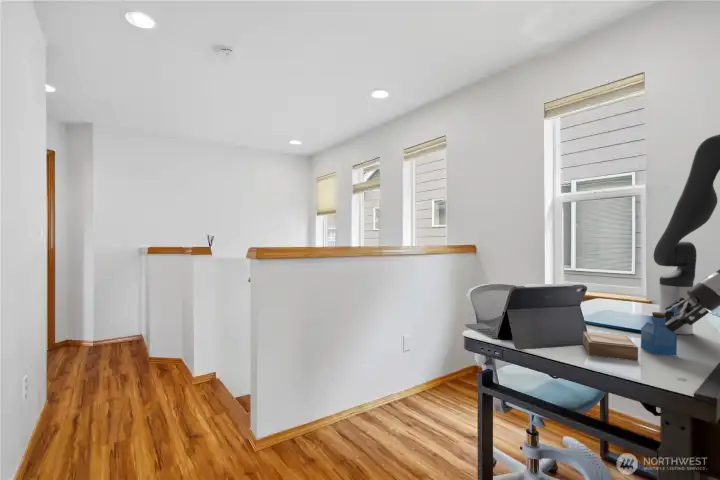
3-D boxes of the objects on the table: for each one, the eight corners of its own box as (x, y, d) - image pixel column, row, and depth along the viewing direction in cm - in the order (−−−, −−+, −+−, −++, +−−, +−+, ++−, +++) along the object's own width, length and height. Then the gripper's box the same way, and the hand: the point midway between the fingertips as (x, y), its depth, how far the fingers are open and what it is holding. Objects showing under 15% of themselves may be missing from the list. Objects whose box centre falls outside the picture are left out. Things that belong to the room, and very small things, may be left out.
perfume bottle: (676, 355, 105) (677, 316, 104) (652, 354, 106) (653, 315, 106) (663, 348, 111) (663, 311, 110) (640, 347, 112) (641, 310, 112)
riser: (582, 343, 117) (582, 330, 117) (626, 347, 112) (626, 334, 112) (589, 355, 106) (589, 341, 106) (638, 360, 101) (638, 346, 101)
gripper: (690, 278, 110) (645, 311, 115) (713, 285, 97) (661, 322, 102) (712, 296, 108) (665, 329, 113) (739, 305, 95) (684, 342, 100)
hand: (663, 325), depth 107 cm, fingers open, 8 cm apart
